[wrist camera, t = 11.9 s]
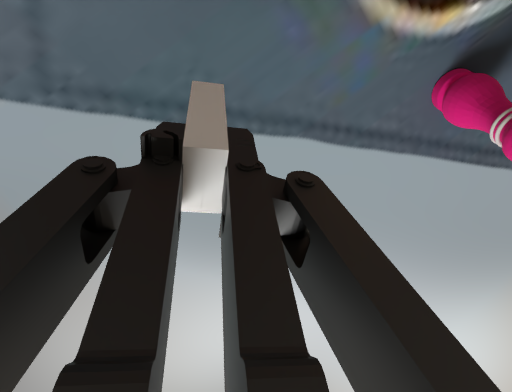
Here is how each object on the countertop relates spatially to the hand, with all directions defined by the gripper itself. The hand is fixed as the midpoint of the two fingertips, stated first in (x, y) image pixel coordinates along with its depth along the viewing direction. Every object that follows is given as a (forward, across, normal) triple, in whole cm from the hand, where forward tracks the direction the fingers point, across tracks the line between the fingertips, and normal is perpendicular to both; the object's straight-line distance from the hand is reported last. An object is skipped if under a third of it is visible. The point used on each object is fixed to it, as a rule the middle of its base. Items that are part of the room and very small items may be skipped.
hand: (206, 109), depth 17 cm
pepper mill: (+30, +36, -5) cm, 47 cm away
